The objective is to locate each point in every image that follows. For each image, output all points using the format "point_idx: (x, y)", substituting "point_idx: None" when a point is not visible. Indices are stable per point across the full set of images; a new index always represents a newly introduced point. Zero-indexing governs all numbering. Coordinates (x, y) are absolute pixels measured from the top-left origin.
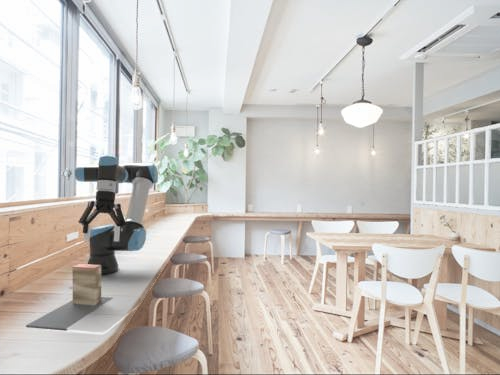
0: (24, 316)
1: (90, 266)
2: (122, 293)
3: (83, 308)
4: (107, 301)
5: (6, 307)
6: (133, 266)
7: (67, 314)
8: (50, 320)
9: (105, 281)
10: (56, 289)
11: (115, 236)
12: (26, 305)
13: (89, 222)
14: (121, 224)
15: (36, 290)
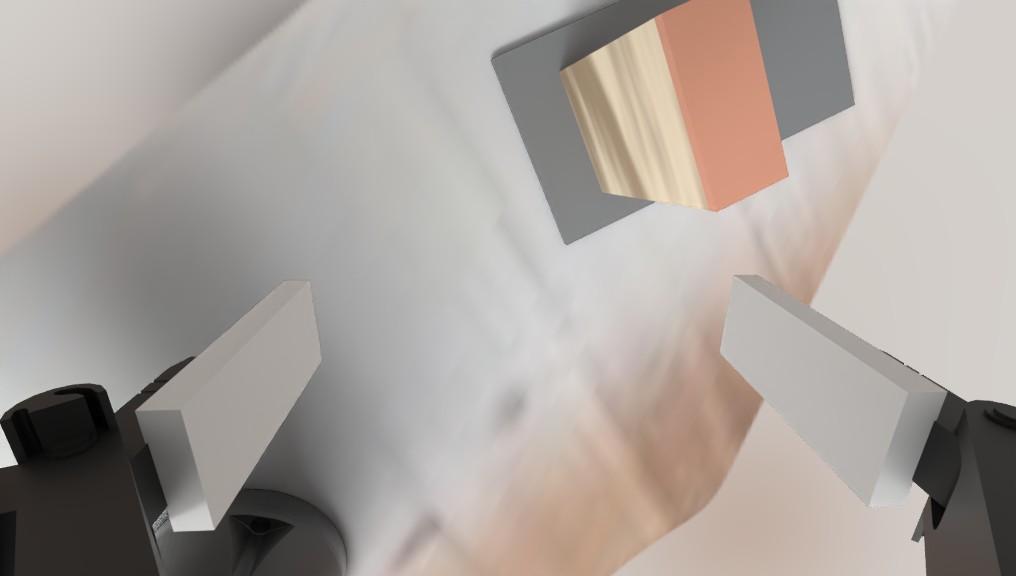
0: (794, 221)
1: (731, 51)
2: (404, 96)
3: None
4: (544, 35)
5: None
6: None
7: None
8: (796, 63)
9: (348, 373)
10: (568, 437)
11: (292, 367)
12: None
13: (999, 437)
14: (56, 444)
15: (620, 485)
